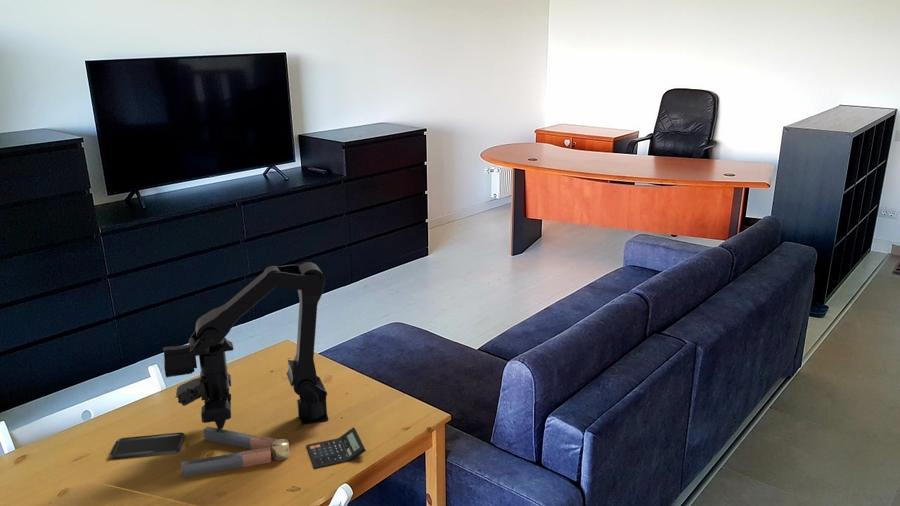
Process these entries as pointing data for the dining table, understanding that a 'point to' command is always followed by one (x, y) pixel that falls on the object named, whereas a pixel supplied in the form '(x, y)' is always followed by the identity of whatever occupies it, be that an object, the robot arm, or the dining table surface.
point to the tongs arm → (248, 441)
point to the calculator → (336, 450)
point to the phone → (147, 445)
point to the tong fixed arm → (226, 462)
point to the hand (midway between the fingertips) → (220, 428)
